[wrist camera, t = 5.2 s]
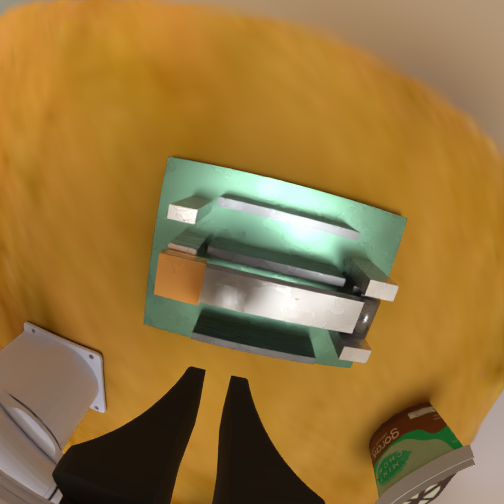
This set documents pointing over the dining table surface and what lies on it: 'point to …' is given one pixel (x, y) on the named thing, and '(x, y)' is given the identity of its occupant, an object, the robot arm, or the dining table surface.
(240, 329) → the green base metal fixture
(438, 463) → the food container
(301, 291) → the grey and orange bar
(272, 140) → the dining table surface
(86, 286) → the dining table surface
